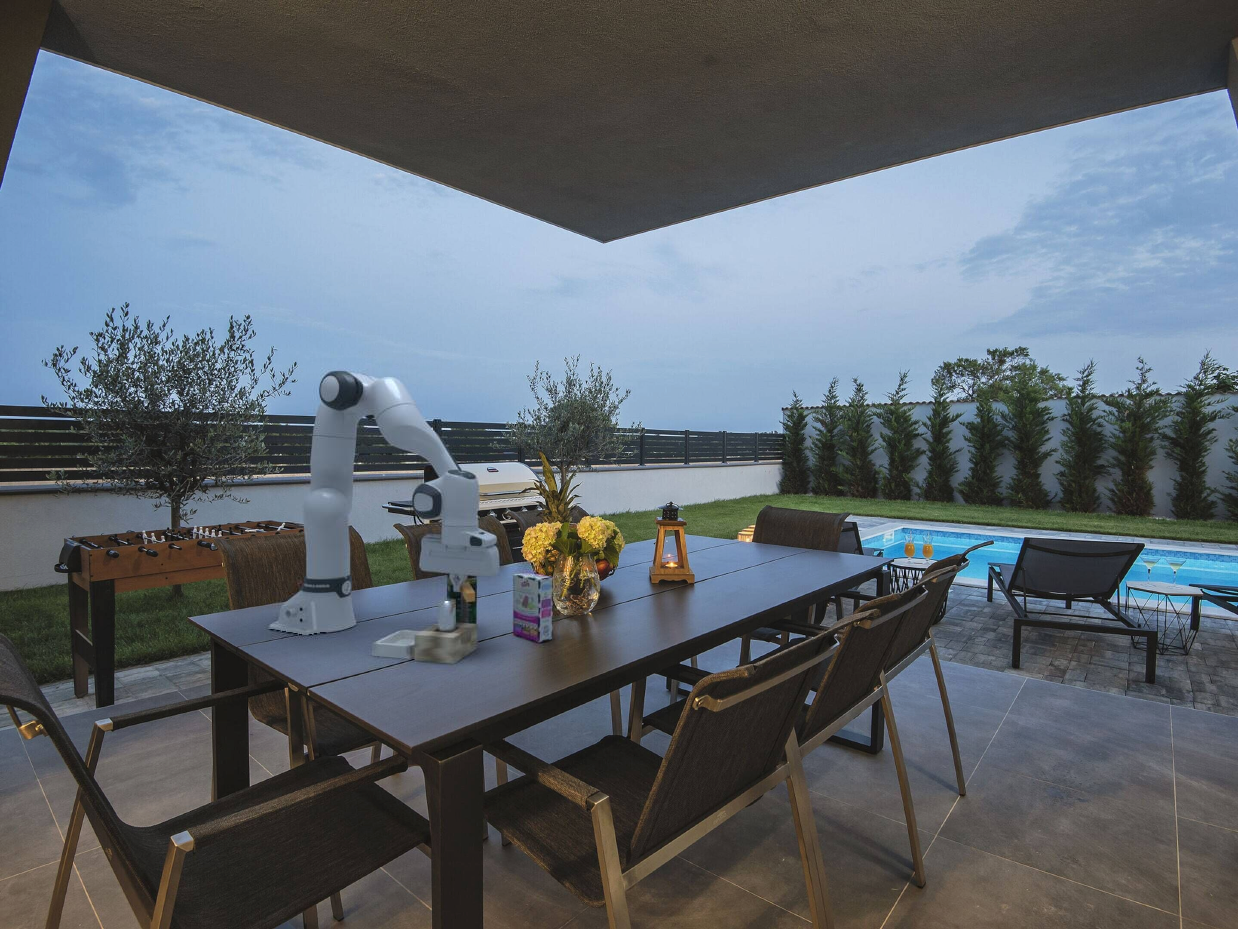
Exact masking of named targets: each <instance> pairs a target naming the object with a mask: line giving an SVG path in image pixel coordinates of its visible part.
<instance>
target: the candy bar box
mask: <svg viewBox="0 0 1238 929" xmlns="http://www.w3.org/2000/svg"><path fill="white" fill-rule="evenodd" d="M512 578H513V579H512V580H513V595H512V596H513V598H512V599H513V603H512V609H513V614H512V615H513V616H512V619H513V621H512V626H513V628H512V634H513V636H516V637H518V638H521V639H526V640H527V641H528V640H529V641H531V642H534V641H535V643H538V644H539V643H540V642H541V643H544V642H543V641H545V642H548V641H547V640H549V641H551V639H552V640H553V639H554V637H553V636H554V635H553V634H554V632H553V631H554V630H553V626H554V624H553V621H554V617H553V614H554V612H553V611H554V608H553V607H554V599H553V598H554V591H553V590H554V585H553V584H554V577H553V576H548V575H543V574H538V573H537V574H536V573H532V572H519V573H515V574H513V577H512Z"/></svg>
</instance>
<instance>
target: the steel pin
mask: <svg viewBox="0 0 1238 929" xmlns="http://www.w3.org/2000/svg"><path fill="white" fill-rule="evenodd" d="M437 602H438V605H437V609H438V611H437V612H438V613H437V615H438V616H437V619H438V620H437V621H438V622H437V623H438V632H445V633H452V632H454V631H456V600H455V599H452V598H447V597H446V598H439V599H438V601H437Z"/></svg>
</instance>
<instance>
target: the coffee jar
mask: <svg viewBox="0 0 1238 929" xmlns="http://www.w3.org/2000/svg"><path fill="white" fill-rule="evenodd" d="M449 575H450V573H446V598H452V599H455V600H456V623H461V592H454V591H453V588H454V585H453V584H452V582H451V580H450V578H449ZM457 579H458V581H460V579H459V578H458V577H457ZM465 582H470V585H471V587H472V589H473V590H474V592H475V601H472V602H468V623H470V624H477V623H478V622H477V614H478V613H477V609H478V608H477V607H478V606H477V604H478V601H477V600H478V576H471V575H467V579H466V580H465ZM477 625H478V624H477Z"/></svg>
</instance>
